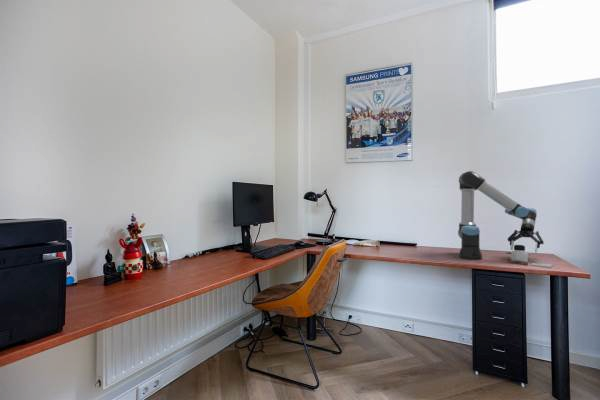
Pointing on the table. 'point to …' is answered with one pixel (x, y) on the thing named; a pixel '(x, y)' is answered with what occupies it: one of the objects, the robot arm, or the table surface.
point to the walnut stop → (518, 262)
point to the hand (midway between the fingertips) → (523, 250)
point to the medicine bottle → (519, 253)
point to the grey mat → (542, 265)
